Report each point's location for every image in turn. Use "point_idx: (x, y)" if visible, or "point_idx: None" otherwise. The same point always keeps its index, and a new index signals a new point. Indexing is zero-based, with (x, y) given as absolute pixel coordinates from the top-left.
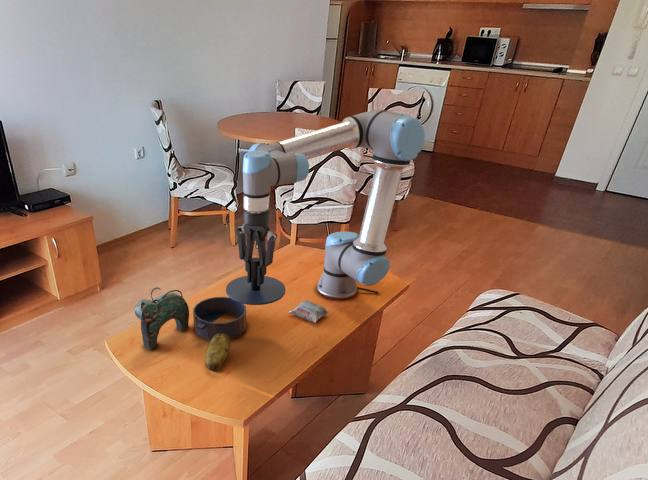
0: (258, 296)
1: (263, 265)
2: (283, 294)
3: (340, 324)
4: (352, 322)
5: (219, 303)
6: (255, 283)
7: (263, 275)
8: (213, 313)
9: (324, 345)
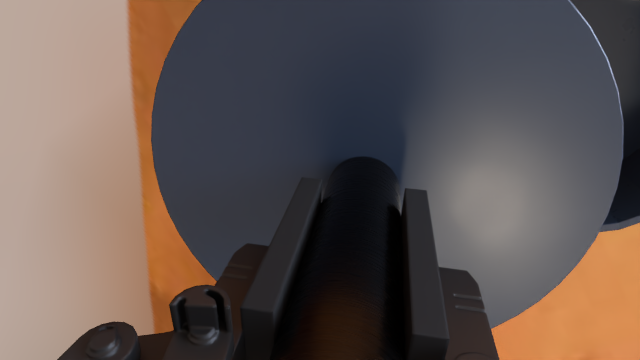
0: (283, 90)
1: (179, 331)
2: (161, 192)
3: (177, 267)
4: (158, 286)
5: (623, 198)
6: (340, 188)
7: (243, 247)
8: (629, 159)
9: (150, 149)
